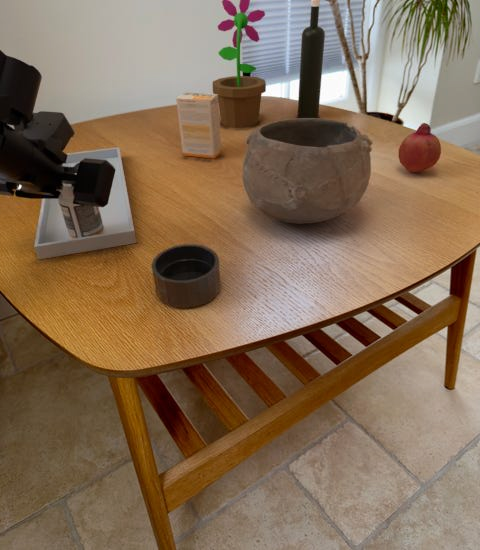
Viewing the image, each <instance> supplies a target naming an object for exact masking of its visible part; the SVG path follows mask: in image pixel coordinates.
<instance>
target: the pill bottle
mask: <svg viewBox="0 0 480 550" xmlns="http://www.w3.org/2000/svg"><path fill="white" fill-rule="evenodd" d="M62 184H63V189H62V190H61V191H60V192H61V194H60V195H59V198H58V200H59V204H60V208H61V211H62V214H63V217H64V220H65V224H66V227H67V230H68V234H69V236H70V238H71V239H74V238H80V237H86V236H93V235H99V234H103V233H104V226H103V222H102V218H101V215H100V211H99V207H96V206H85V205H78V204H73V200H74V195H73V188H72V187H71V185H72V184H64V183H62Z"/></svg>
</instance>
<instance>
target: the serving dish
mask: <svg viewBox="0 0 480 550" xmlns="http://www.w3.org/2000/svg"><path fill="white" fill-rule="evenodd" d="M66 154H67V155H68V156H67V160H66V163H63V164H62V166H67V167H74V166H75V165H76V164H77V163H80V161H82V160H83V159H85V158H89V159H100V160H107V161H108V162H109V163H110V164H112V165H113V166H114V168H115V169H116V170H115V175H114V179H113V183H112V188H111V192H110V197H109V201H108V204H107V205H106V206H105V207H99V211H100V215H101V218H102V222H103V226H104V233H103V234H99V235H93V236H86V237H80V238H74V239H71V238H70V236H69V234H68V230H67V227H66V224H65V220H64V217H63V214H62V211H61V208H60V204H59V200H58V199H41V205H40V210H39V217H38V221H37V228H36V233H35V237H34V238H35V240H34V245H33V248H34V251H35V254H36V256H37V259H38V260H45V259H50V258H51V259H52V258H56V257H61V256H67V255H74V254H79V253H86V252H91V251H98V250H104V249H108V248H109V249H110V248H115V247H122V246H127V245H132V244H137V237H136V231H135V227H134V220H133V214H132V209H131V204H130V199H129V198H130V197H129V193H128V187H127V182H126V176H125V171H124V166H123V160H122V155H121V149H120V147H119V146H118V147H109V148H102V149H95V150H94V149H93V150H85V151H78V152H69V153H68V152H67V153H66ZM75 174H76V173H75Z"/></svg>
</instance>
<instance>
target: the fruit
mask: <svg viewBox="0 0 480 550" xmlns="http://www.w3.org/2000/svg"><path fill="white" fill-rule="evenodd" d="M431 131H432V130H431V126H430V125H429V124H428V123H426V122H423V123H421V124H420V125H419V127H417V129H416V131H415V132H412V133H409V134H408V135H407V136H406V137H405V138H404V139H403V140H402V141H401V144H400V145H399V148H398V153H397V154H398V156H397V157H398V160H399V163H400V164H401V166H402V167H404V169H406V170H407V171H409V172H411V173H418V172H422V171H426V170H428V169H430V168H432V167H434V166H435V165H436V164H437V163H438V161H439V160H440V159H441V155H442V146H441V145H442V144H441V142H440V140H439V138H438V136H437V135H435V134H433V133H432V132H431Z"/></svg>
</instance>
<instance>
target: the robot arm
mask: <svg viewBox="0 0 480 550" xmlns="http://www.w3.org/2000/svg"><path fill="white" fill-rule="evenodd" d="M42 80H43V76H42V74H41V72H40V71H39V69H37V68H36V67H35V66H34V65H32V64H28V63H26V62H24V61H22V60H20V59H19V58H16V57H14V56H10V55H8V54H6V53H4V52H3V51H2V50H1V49H0V195H2V196H11V197H14V196H15V197H17V198H22V199H30V200H36V199H37V200H42V199H58V198H59V195H60V194H61V192H60V191H61V190H62V189H63V184H62V183H64V184H72V185H71V187H72V188H73V195H74V200H73V204H78V205H85V206H96V207H105V206H106V205H107V204H108V201H109V197H110V192H111V188H112V183H113V179H114V175H115V170H116V169H115V168H114V166H113V165H112V164H110V163H109V162H108V161H107V160H100V159H89V158H85V159H83V160H82V161H80V163H77V164H76V165H75V166H74V167H67V166H62V164H63V163H66V160H67V156H68V155H67V154H68V153H66V152H64V150H65V149H66V147H67V145H68V144H69V142H70V141H71V139H72V138H73V137H74V135H75V130H74V128H73V127H72V125H71V123H70V122H69V120H68V119H67V116H66V115H65V114H64V113H63V112H61V111H60V112H59V111H44V110H42V111H38V112H34V110H35V107H36V101H37V98H38V94H39V90H40V86H41V83H42ZM12 126H13V127H12ZM75 173H76V174H75Z"/></svg>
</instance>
